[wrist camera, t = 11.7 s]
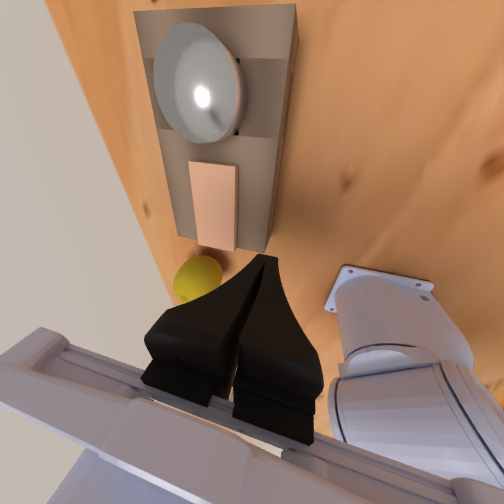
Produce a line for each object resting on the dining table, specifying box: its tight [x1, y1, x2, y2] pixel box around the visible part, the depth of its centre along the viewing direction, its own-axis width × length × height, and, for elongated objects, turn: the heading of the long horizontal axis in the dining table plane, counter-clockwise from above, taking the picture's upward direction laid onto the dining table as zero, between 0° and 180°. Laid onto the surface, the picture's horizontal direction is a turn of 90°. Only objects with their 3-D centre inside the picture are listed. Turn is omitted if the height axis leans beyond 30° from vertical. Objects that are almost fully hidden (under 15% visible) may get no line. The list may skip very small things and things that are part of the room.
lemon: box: [173, 255, 222, 303], centre depth 23 cm, size 6×6×8 cm
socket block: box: [133, 4, 299, 253], centre depth 16 cm, size 10×16×4 cm, turn 176°
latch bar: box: [188, 160, 238, 252], centre depth 17 cm, size 8×4×1 cm, turn 176°
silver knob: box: [153, 22, 248, 143], centre depth 13 cm, size 5×5×6 cm
